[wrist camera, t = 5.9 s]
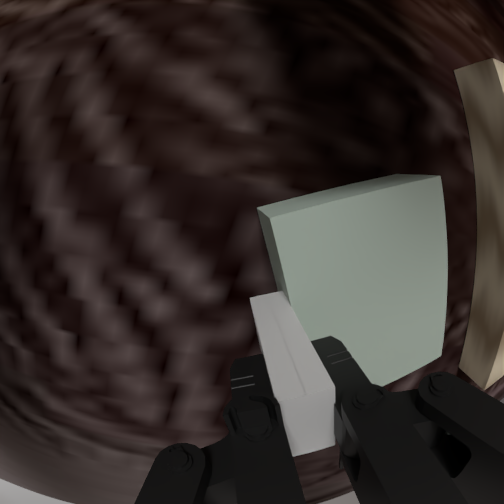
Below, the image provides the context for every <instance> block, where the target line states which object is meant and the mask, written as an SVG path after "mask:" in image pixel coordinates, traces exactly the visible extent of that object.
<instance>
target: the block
mask: <svg viewBox="0 0 504 504" xmlns="http://www.w3.org/2000/svg"><path fill="white" fill-rule="evenodd" d="M257 212H258V215H259V219H260V223H261V227H262V231H263V234H264V238H265V242H266V246H267V250H268V254H269V258H270V262H271V266H272V270H273V273H274V277H275V281H276V285H277V289H278V292H279V291H283V292H284V294H285V296H286V298H287V300H288V301H289V303H290V305H291V307H292V309H293V311H294V312H295V314H296V316H297V318H298V320H299V321H300V323H301V325H302V327H303V329H304V331H305V332H306V334H307V336H308V338H309V340H310V341H313V340H317V339H320V338H324V337H328V336H333V337H334V338H336V339H338V340H340V341H342V343H343V344H344V346H345V347H346V348H347V351H349V352H350V354H351V355H352V358H354V359H355V361H356V362H357V364H358V365H359V366H360V368H361V369H362V371H363V372H364V373H365V375H366V376H367V378H368V379H369V380H370V382H371V383H372V384H376V385H379V386H384V385H386V384H388V383H391V382H393V381H395V380H397V379H399V378H401V377H403V376H405V375H407V374H409V373H411V372H413V371H415V370H417V369H418V368H420V367H422V366H424V365H426V364H428V363H429V362H431V361H433V360H435V359H436V358H438V357H440V356H441V353H442V346H443V338H444V329H445V318H446V304H447V277H448V259H447V232H446V218H445V207H444V198H443V190H442V182H441V176H435V175H411V174H394V175H389V176H385V177H380V178H376V179H371V180H367V181H362V182H358V183H353V184H349V185H345V186H341V187H336V188H332V189H328V190H324V191H320V192H316V193H312V194H308V195H304V196H300V197H296V198H292V199H288V200H284V201H280V202H277V203H273V204H269V205H265V206H262V207H258V208H257Z"/></svg>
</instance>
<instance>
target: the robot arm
mask: <svg viewBox="0 0 504 504" xmlns="http://www.w3.org/2000/svg"><path fill="white" fill-rule="evenodd" d="M250 302H251V307H252V311H253V316H254V321H255V326H256V330H257V335H258V340H259V344H260V349H261V353H262V354H259V355H254V356H250V357H245V358H240V359H235V361H234V363H233V364H232V366H231V368H230V376H231V388H232V389H231V390H232V400H231V401H230V402H229V403H228V404H227V405H226V407H225V408H224V413H223V417H224V420H225V422H226V424H227V427H228V429H229V434H228V435H227V436H226V437H225V438H223V439H222V440H220V441H218V442H216V443H214V444H212V445H209V446H206V447H204V448H201V449H199V448H198V447H197V446H195V445H192V444H188V443H177V444H174V445H171V446H168V447H166V448H165V449H164V450H162V451H161V452H160V453H159V454H158V456H157V457H156V458H155V461H154V463H153V465H152V467H151V469H150V471H149V474H148V476H147V478H146V480H145V482H144V484H143V486H142V489H141V491H140V493H139V495H138V497H137V499H136V501H135V504H306V502H305V498H304V495H303V491H302V488H301V484H300V481H299V477H298V474H297V470H296V467H295V463H294V459H293V457H294V456H298V455H302V454H306V453H310V452H314V451H317V450H321V449H324V448H327V447H330V446H334V445H335V437H336V439H337V442H338V444H339V446H340V458H339V467H340V469H343V466H344V468H345V470H346V472H347V475H348V477H349V479H350V482H351V484H352V486H353V489H354V491H355V493H356V496H357V498H358V500H359V503H360V504H504V404H503V403H502V402H500V401H498V400H496V399H495V398H493V397H491V396H490V395H488V394H486V393H484V392H483V391H481V390H479V389H477V388H476V387H474V386H472V385H471V384H469V383H467V382H465V381H464V380H462V379H460V378H459V377H457V376H455V375H453V374H450V373H448V372H435V373H431V374H429V375H427V376H425V377H424V378H423V379H422V380H421V382H420V384H419V388H418V389H413V390H408V391H402V392H388V391H387V390H386V389H385V388H384V387H382V386H379V385H376V384H372V383H371V382H370V380H369V379H368V378H367V376H366V375H365V373H364V372H363V371H362V369H361V368H360V366H359V365H358V364H357V362H356V361H355V359H354V358H352V355H351V354H350V352H349V351H347V348H346V347H345V346H344V344H343V343H342V341H340V340H338V339H336V338H334V337H333V336H328V337H324V338H320V339H317V340H313V341H310V340H309V338H308V336H307V334H306V332H305V331H304V329H303V327H302V325H301V323H300V321H299V320H298V318H297V316H296V314H295V312H294V311H293V309H292V307H291V305H290V303H289V301H288V300H287V298H286V296H285V294H284V292H283V291H279V292H274V293H270V294H265V295H260V296H256V297H251V298H250Z"/></svg>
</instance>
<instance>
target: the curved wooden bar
mask: <svg viewBox="0 0 504 504" xmlns="http://www.w3.org/2000/svg"><path fill="white" fill-rule="evenodd" d="M454 73H455V76H456V80H457V83H458V87H459V90H460V94H461V98H462V102H463V106H464V111H465V115H466V120H467V125H468V130H469V136H470V142H471V148H472V155H473V163H474V173H475V184H476V199H477V253H476V269H475V280H474V289H473V297H472V305H471V311H470V317H469V323H468V328H467V333H466V338H465V343H464V347H463V352H462V356H461V360H460V364H459V368H460V369H461V370H462V371H463V372H464V373H466V374H467V375H468V376H469V377H470V378H471V379H472V380H473V381H474V382H475V383H477V384H478V385H479V386H480V387H481V388H482V389H483V390H485V389H487V388H488V387H489V386H491V385H492V384H493V383H495V382H496V381H497V380H498V379H499V378H501V377H502V376H503V375H504V63H502V62H500V61H498V60H495V59H493V58H492V59H489V60H485V61H482V62H478V63H475V64H472V65H469V66H466V67H463V68H459V69H456V70H454Z"/></svg>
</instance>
